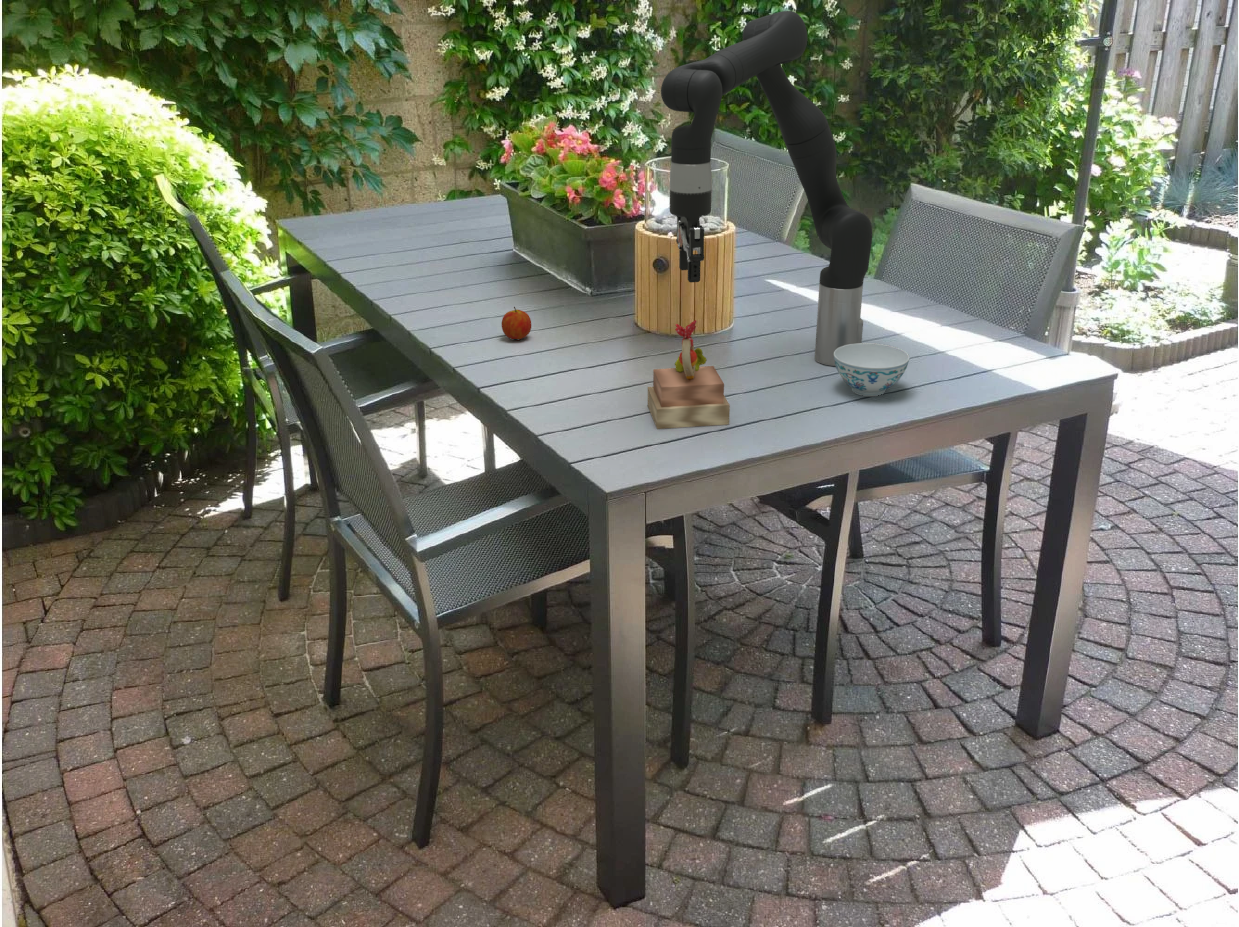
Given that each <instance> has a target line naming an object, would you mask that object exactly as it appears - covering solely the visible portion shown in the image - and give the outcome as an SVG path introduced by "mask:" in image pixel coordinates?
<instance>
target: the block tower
mask: <svg viewBox="0 0 1239 927" xmlns="http://www.w3.org/2000/svg"><path fill="white" fill-rule="evenodd" d="M652 373H653V374H652V375H653V377H652V378H653V379H652V380H653V382H652V384H653V385H652V386H647V408H648V410H649V413H650V414H651V418H652V419H653V422H654V425H655V427H656V429H657V430H662V429H663V430H664V429H676V428H677V429H679V428H693V427H708V426H709V427H710V426H726V425H730V414H731V413H730V411H731V407H730V406H731V405H730V403H729V401H728V398H726V396H725V383H724V381H723V380H722V377H721V376H720V374H719V373H718V371H717V370H716V368H715V366H714V365H708V366H707V365H706V366H700V367H699V370H698V371H695V373H694V378H693V379H687V378H686V374H685V372H684V371H682V372H677V371H676V367H671V368H670V367H669V368H656V369H655V368H654V369H653V372H652Z"/></svg>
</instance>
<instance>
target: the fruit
mask: <svg viewBox="0 0 1239 927" xmlns="http://www.w3.org/2000/svg"><path fill="white" fill-rule="evenodd" d="M513 309H514V310H509V311H507V312H506V313H505V314H504V315H503V316H502V319H501V329H502V332H503V334H504V335H505V336H506V337H507V338H509V339H510V338H511V339H510V340H512V339H521V340H523V339H524V338H526V337H527V336H528V335H529V334H530V332H531V331H532V319H531V316H530V315H529V314H528V313H527V312H526V311H524V310H521V309H518V308H516V307H515V306H513ZM522 338H523V339H522Z"/></svg>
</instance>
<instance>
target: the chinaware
mask: <svg viewBox="0 0 1239 927" xmlns="http://www.w3.org/2000/svg"><path fill="white" fill-rule="evenodd" d="M834 361H835V365H836V366H835V368H836V370H837V373H838V375H839V376H840V378H841V379H842V380H843V382H845V383H846V385H848V386H849V387H851V391H852V392H853V393H854V392H855V393H854V394H857V395H858V396H859V395H860V396H862V395H863V397H877V396H878V395H879V396H882V395H883V394H885V393H884V392H886V390H887V389H889V388H891V387H892V386H894V385H895V384H896V383H898V382H899V380H900V379H901V378H902V377H903V376H904V374H905V372H906V370H907V368H908V365H909V361H910V355H909V354H908V352H907V351H905V350H903V349H901V348H898V347H896V346H892V345H888V344H882V343H873V342H862V343H856V344H849V345H844V346H841V347H839V348H837V349H836V350H835V351H834ZM881 394H882V395H881Z"/></svg>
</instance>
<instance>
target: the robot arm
mask: <svg viewBox="0 0 1239 927" xmlns="http://www.w3.org/2000/svg"><path fill="white" fill-rule="evenodd" d="M807 44H808V31H807V27H806V23H805V22H804V19H803V18H802V17H801V16H800V14H799V13H797V12H795V11H793V10H782V11H779V12H775V13H771V14H768V15H765V16H761V17H758V18H755V19H751V20H750V21H748V22H747V23H746V24H745V26H744V28H743V31H742V41H739V42H737V43H734V44H731V45H729V46H727V47H724V48H722V49H720V50H718V51H716V52H715V53H712V54H711V55H710V56H708V57H707V58H705V59H702V60H697V61H693V62H690V63H686V64H683V65H680V66H677V67H675V68H673V69H672V70H670V71H669V72H668V73H667V74H666V75H665V77H664V79H663V80H662V83H661V86H660V97H661V99H662V102H663V104H664V105H665V106H666V107H667V108H668V109H670V110H671V111H674V112H683V113H694V114H693V118H692V121H691V123H690V124H688V125H687V124H686V125H681V126H678V127H676V128H675V129H673V130H672V133H671V139H670V142H671V143H670V145H671V148H670V149H671V150H670V151H671V155H670V158H671V159H670V170H669V213H670V214H671V215H673V216H675V217H676V240H675V241H676V245H677V248H678V250H679V257H678V258H679V259H678V262H679V264H678V265H679V269H680V271H687V281H688V283H699V282H700V281H701V263H702V262H703V261H705V228H704V226H703V225H701V223H700V218H702V217H706V216H708V215H710V214H711V212H712V188H713V187H712V186H713V184H712V183H713V181H712V179H713V175H712V174H713V173H712V164H711V163H712V162H711V161H712V159H711V158H712V157H711V154H712V137H713V136H712V135H713V133H714V132H713V131H714V127H715V124H716V121H717V116H718V113H719V110H720V106H721V102H722V98H723V96H725V95H727V94H728V93H730V92H732V90H734V89H736V88H737V87H739V86H741V85H743V84H744V83H746V82H747V81H748V80H750V79H752V78H753V77H756V78H757V81H758V83H759V84H760V86H761V88H762V90H763V93H764V94H765V96H766V99H767V101H768V102H769V105H770V107H771V110H772V113H773V115H774V118H775V120H776V122H777V125H778V127H779V130H780V133H781V136H782V139H783V143H784V144H785V147H786V149H787V152H788V155H789V158H790V159H791V160H790V161H791V162H792V164H793V166H794V169H795V172H796V174H797V177H798V180H799V181H800V184H801V187H802V188H803V190H804V192H805V195H806V198H807V202H808V205H809V210H810V214H811V217H812V220H813V225H814V228H815V232H816V234H817V236H818V239H819V240H820V243H822V244H823V245H824V246H825V247H827V248H828V249H830V256H829V257H830V258H829V259H830V260H829V265H828V266H825V267H823V268H822V269H821V270H820V273H819V285H818V299H817V312H816V313H817V314H816V316H817V317H816V328H815V329H816V332H815V344H814V345H815V348H814V360H815V361H816V362H817V363H819V364H823V365H826V366H832V367H833V366H834V367H836V365H835V361H834V351H835V350H836V349H837V348H839V347H841V346H844V345H849V344H856V343H863V331H864V330H863V329H864V320H863V319H862V318H861V316H862V315H861V314H862V303H863V289H864V280H865V279H864V278H865V276H866V275H867V272H868V270H869V266H870V258H871V251H872V245H873V244H872V241H873V226H872V223H871V220H870V218H869V217H868V215H867V214H865V213H863V212H861V211H858V210H856V209H854V208H852V207H850V206H849V205H848V203H847V201H846V199H845V197H844V194H843V193H842V189H841V188H840V185H839V182H838V178H837V146H836V142H835V139H834V136H833V133H832V130H831V128H830V125H829V123H828V119H827V117H826V116H825V114H824V112H823V111H822V110H821V109H820V108H819V107H818V106H817V105H816V104H815V103H814V102H813V101H812V100H810V99H809V98H808V97H807V96H806V95H805V94H804V93H802V92H801V91H800V90H798V89H797V87H795V86H794V85H793V83H792V82H791V81H790V79H789V78H788V77H787V75H786V72H785V70H784V68H783V66H782V65H783V64H787V63H790V62H794V61H795V60H797V59H799V58H800V57H801V56H802V55H803V54H804V53H805V50H806V48H807ZM694 251H696V253H694Z"/></svg>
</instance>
